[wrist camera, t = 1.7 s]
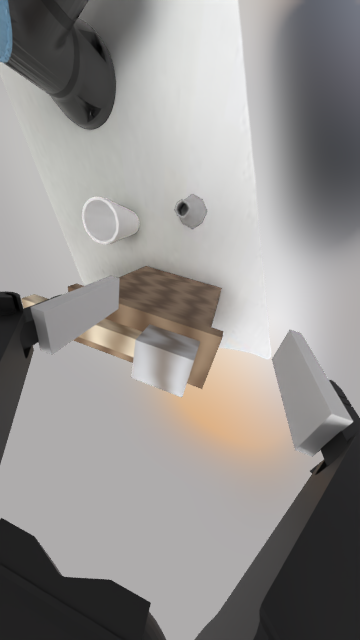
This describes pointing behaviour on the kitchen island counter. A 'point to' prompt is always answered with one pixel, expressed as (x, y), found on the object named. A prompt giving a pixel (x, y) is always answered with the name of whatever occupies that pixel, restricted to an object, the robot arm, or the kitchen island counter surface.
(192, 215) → the flask
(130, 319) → the walnut stand
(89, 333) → the mallet
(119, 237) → the foam cup
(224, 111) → the kitchen island counter surface
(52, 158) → the kitchen island counter surface
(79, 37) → the robot arm
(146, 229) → the kitchen island counter surface
